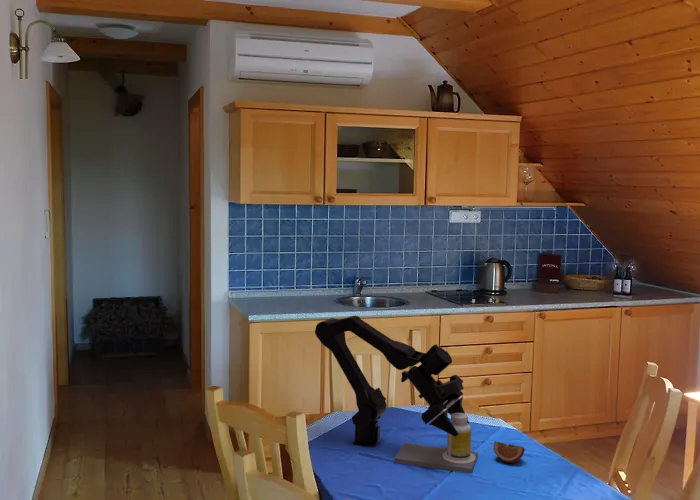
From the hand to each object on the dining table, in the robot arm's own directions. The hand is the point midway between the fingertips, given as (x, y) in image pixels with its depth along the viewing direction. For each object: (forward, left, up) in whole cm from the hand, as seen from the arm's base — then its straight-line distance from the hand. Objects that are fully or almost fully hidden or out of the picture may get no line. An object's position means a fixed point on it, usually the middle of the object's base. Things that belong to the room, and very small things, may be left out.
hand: (462, 430), depth 197 cm
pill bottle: (-1, 0, -8) cm, 8 cm away
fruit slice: (+12, +5, -9) cm, 16 cm away
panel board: (-7, -1, -9) cm, 11 cm away
